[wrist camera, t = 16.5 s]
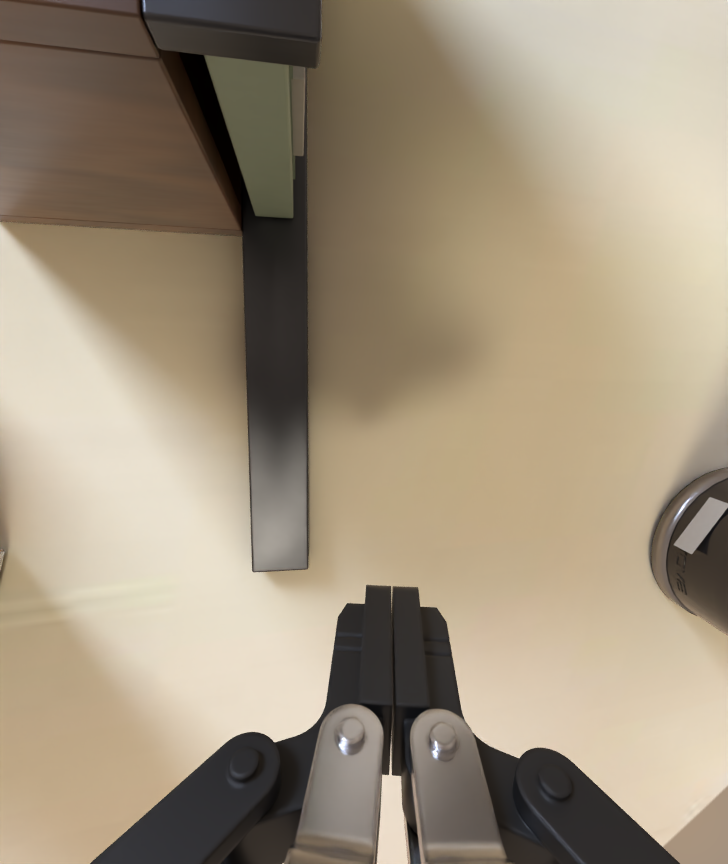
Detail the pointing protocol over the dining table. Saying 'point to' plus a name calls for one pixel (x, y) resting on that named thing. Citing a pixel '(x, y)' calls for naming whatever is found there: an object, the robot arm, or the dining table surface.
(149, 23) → the track
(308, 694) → the dining table surface
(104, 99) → the box
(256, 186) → the door
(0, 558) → the small box
